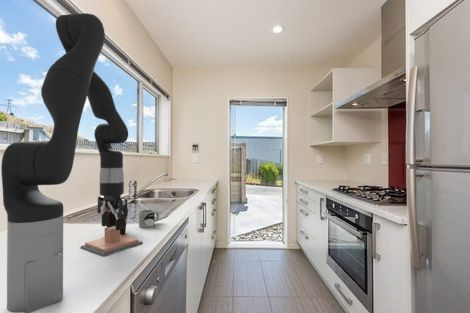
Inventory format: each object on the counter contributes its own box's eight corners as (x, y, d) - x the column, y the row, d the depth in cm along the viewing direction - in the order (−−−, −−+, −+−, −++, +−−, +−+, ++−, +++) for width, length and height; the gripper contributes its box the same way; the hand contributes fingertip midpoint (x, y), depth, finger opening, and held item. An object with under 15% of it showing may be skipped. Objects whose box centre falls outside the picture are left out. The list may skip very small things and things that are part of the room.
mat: (142, 243, 88) (142, 241, 88) (103, 256, 77) (103, 254, 77) (119, 237, 96) (119, 235, 96) (80, 247, 84) (80, 246, 84)
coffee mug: (119, 238, 95) (119, 211, 95) (99, 236, 96) (99, 210, 97) (137, 229, 106) (137, 206, 106) (119, 228, 108) (119, 205, 108)
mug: (145, 228, 108) (145, 213, 108) (135, 226, 111) (135, 211, 111) (163, 223, 116) (163, 209, 116) (153, 221, 120) (153, 207, 120)
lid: (138, 242, 88) (138, 226, 88) (104, 252, 78) (104, 234, 78) (118, 236, 95) (118, 221, 95) (85, 245, 85) (85, 229, 85)
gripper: (89, 180, 87) (90, 227, 87) (113, 183, 80) (113, 234, 80) (110, 179, 94) (110, 222, 94) (134, 181, 86) (134, 228, 86)
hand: (112, 227), depth 87 cm, fingers open, 8 cm apart
